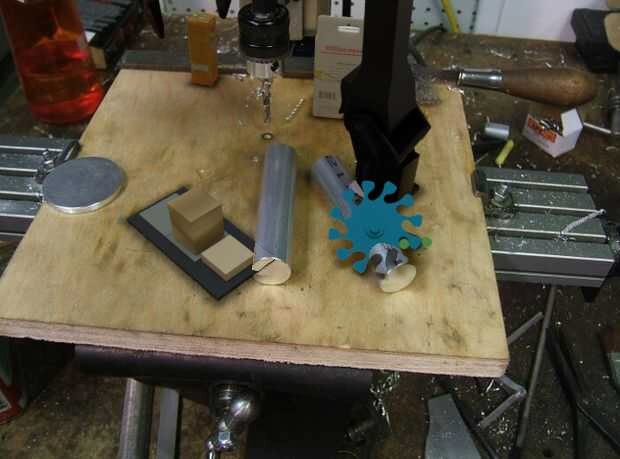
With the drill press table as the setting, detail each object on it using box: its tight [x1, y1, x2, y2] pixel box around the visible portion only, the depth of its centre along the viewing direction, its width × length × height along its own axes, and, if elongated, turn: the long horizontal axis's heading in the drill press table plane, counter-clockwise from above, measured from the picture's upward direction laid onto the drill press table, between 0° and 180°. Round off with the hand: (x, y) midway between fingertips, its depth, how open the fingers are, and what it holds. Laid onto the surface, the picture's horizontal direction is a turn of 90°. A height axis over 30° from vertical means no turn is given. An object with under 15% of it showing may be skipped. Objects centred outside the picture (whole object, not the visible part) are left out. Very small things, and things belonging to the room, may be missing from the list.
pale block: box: [167, 185, 225, 255], centre depth 60 cm, size 4×4×5 cm
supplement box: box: [186, 10, 219, 87], centre depth 82 cm, size 3×3×10 cm
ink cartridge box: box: [312, 14, 364, 120], centre depth 76 cm, size 9×5×15 cm, turn 83°
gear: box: [327, 181, 433, 274], centre depth 61 cm, size 11×6×10 cm
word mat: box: [126, 186, 259, 301], centre depth 61 cm, size 16×8×2 cm, turn 46°
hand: (192, 27), depth 71 cm, fingers open, 9 cm apart
